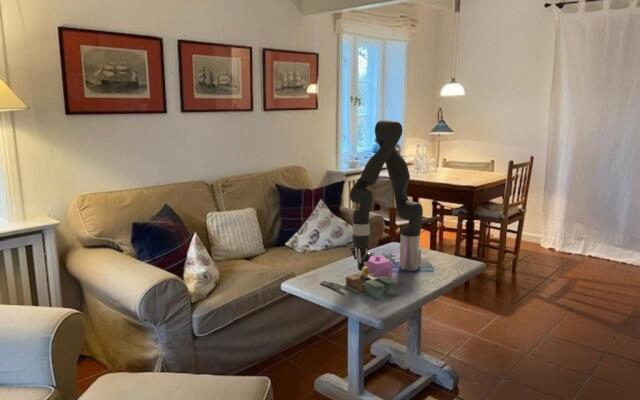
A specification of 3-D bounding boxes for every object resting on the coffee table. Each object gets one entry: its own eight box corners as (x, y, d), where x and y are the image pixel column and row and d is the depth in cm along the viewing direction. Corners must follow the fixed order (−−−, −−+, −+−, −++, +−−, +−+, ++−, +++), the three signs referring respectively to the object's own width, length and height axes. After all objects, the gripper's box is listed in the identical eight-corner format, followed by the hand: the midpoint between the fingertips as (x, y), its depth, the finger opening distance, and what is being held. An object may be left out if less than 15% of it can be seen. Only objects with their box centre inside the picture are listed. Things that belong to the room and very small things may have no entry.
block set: (365, 279, 226) (365, 267, 224) (396, 294, 209) (396, 281, 207) (346, 284, 220) (346, 272, 218) (376, 300, 203) (376, 287, 201)
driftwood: (318, 284, 222) (318, 280, 222) (329, 280, 226) (329, 276, 226) (348, 299, 206) (348, 295, 206) (359, 295, 210) (360, 291, 210)
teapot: (398, 281, 223) (398, 260, 220) (378, 285, 218) (378, 264, 216) (377, 269, 239) (378, 249, 236) (359, 272, 234) (359, 252, 232)
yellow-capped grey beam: (365, 276, 218) (365, 266, 217) (377, 281, 211) (377, 271, 210) (361, 277, 216) (361, 267, 215) (373, 283, 210) (373, 272, 209)
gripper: (377, 234, 211) (376, 272, 215) (358, 228, 222) (358, 264, 225) (363, 237, 207) (363, 276, 211) (345, 230, 218) (345, 267, 221)
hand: (360, 270), depth 218 cm, fingers closed
